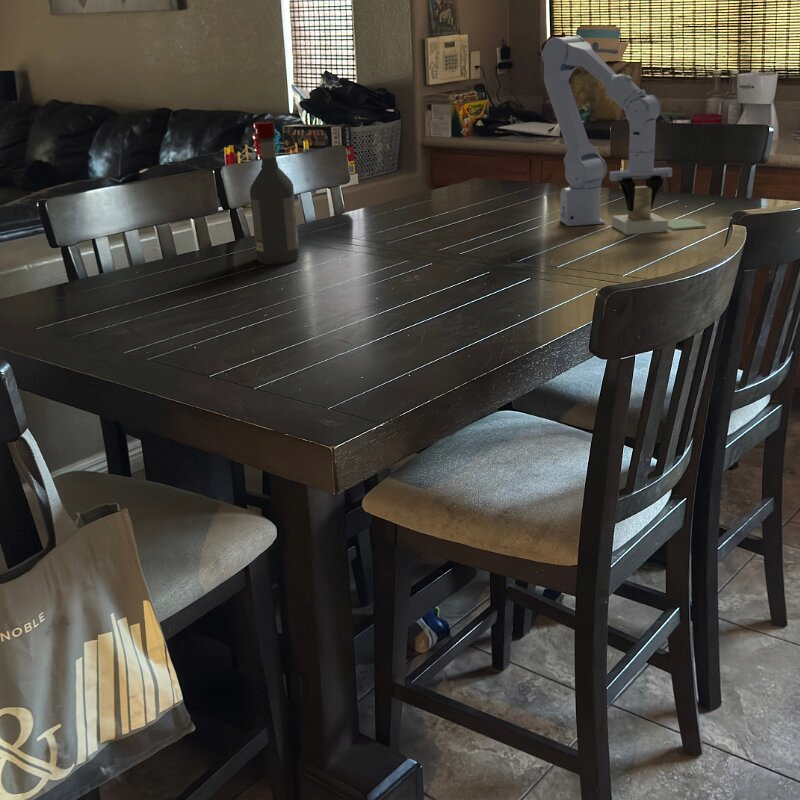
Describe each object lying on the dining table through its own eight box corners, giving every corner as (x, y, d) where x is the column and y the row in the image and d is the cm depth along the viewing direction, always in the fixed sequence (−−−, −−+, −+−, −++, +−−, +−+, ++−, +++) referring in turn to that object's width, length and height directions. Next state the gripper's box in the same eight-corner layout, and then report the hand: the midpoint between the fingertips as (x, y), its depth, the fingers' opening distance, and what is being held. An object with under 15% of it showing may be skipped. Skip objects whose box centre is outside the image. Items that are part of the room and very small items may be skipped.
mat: (672, 230, 232) (673, 228, 231) (658, 223, 240) (658, 220, 240) (705, 227, 232) (705, 225, 232) (690, 220, 241) (690, 218, 241)
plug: (633, 228, 233) (635, 189, 230) (627, 224, 237) (629, 186, 233) (650, 226, 233) (651, 188, 230) (643, 223, 237) (645, 185, 234)
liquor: (299, 253, 228) (288, 119, 217) (297, 262, 220) (285, 123, 209) (260, 256, 228) (246, 121, 217) (256, 265, 220) (241, 126, 209)
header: (626, 234, 230) (626, 223, 229) (611, 226, 239) (612, 215, 238) (667, 231, 231) (668, 220, 230) (651, 223, 240) (652, 212, 239)
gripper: (617, 155, 224) (615, 214, 229) (678, 150, 226) (675, 210, 231) (607, 151, 231) (605, 209, 236) (666, 147, 232) (664, 205, 237)
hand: (639, 209), depth 234 cm, fingers closed on plug, 4 cm apart
